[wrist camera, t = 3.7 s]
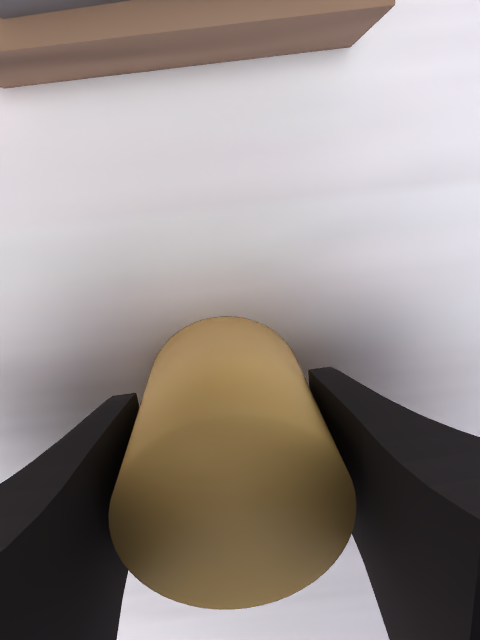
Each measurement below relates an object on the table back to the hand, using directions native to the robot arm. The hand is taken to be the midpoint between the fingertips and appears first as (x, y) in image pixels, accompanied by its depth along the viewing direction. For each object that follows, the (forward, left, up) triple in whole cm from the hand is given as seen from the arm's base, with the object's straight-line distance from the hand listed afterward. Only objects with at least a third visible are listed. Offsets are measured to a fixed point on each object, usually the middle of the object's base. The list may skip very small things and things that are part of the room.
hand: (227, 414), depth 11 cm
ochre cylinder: (0, 0, -1) cm, 1 cm away
